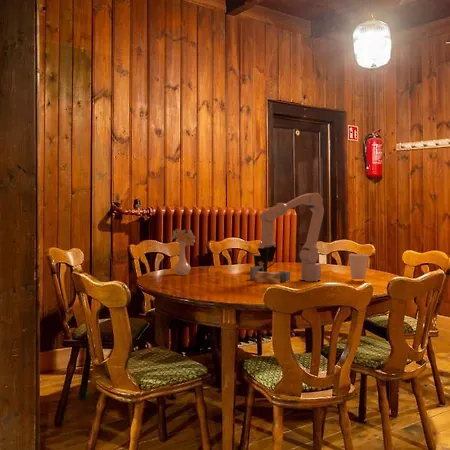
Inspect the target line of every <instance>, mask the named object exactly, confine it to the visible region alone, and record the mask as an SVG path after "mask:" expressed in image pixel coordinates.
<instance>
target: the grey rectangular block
mask: <svg viewBox="0 0 450 450" xmlns="http://www.w3.org/2000/svg"><path fill="white" fill-rule="evenodd" d="M257 271H260V272H263V266H255V265H254V266H251V267H250V272H249V273H250V274H249V275H250V279H249V280H250V281H255V272H257Z"/></svg>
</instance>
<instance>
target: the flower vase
mask: <svg viewBox="0 0 450 450" xmlns="http://www.w3.org/2000/svg"><path fill="white" fill-rule="evenodd" d="M186 232H187V233H186ZM169 239H170V241H169V242H172V241H173V240H175V242H176V243H178V246H179V249H178V250H179V251H178V253H179V256H178V260H177V262H176V263H175V264H174V266H173V271H174V272H175V273H176V275H177V276H187V275H188V274H189V272H190V271H191V269H192V268H191V265H190V264H189V263H188V261H187V259H186V247H187V246H189V245H190V246H192V247H194V245H195V244H194V243H196V241H195V240H196V239H197V237H196V236H195V235H194V233H193V232H192V229H188V230H187V231H186V229H183V230H182V229H180V228H176V229H174V230H173V231H172V235H171V236H170V238H169Z"/></svg>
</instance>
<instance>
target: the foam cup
mask: <svg viewBox="0 0 450 450" xmlns="http://www.w3.org/2000/svg"><path fill="white" fill-rule="evenodd" d="M348 260H349V267H350V268H349V269H350V270H349V271H350V277H351V278H352V279H365V280H366V273H367V267H368V261H369V254H363V253H349V254H348ZM352 279H351V280H352Z"/></svg>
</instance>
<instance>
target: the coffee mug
mask: <svg viewBox="0 0 450 450" xmlns="http://www.w3.org/2000/svg"><path fill="white" fill-rule="evenodd" d="M253 262H254V266H263V272H268V268H270V267H271V266H273V265H274V264H275V263H276V258H275V257H274V259H273V263H271V264H270V265H269V261H268V257H267V263H262V260H261V256H260V253H259V254H258V253H257V254H253Z"/></svg>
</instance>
